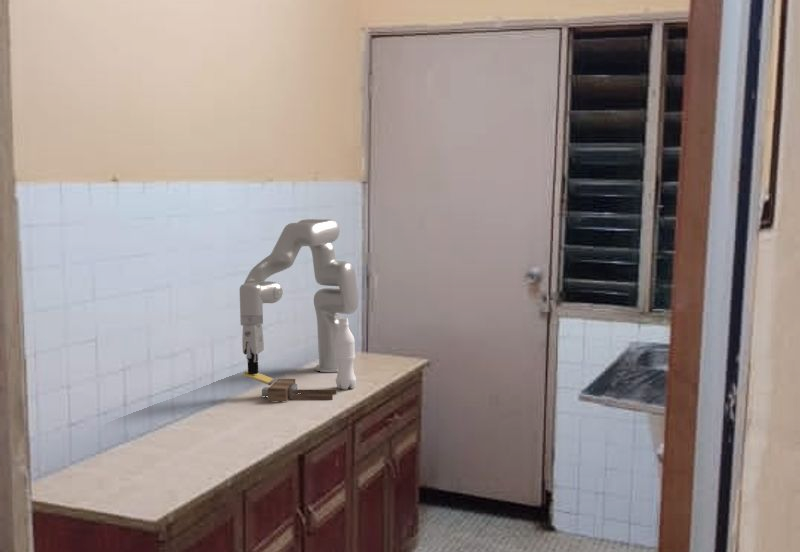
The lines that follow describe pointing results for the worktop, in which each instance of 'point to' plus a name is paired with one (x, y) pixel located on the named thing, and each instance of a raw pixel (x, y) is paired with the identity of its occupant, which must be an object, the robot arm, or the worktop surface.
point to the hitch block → (281, 391)
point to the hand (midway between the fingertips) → (253, 373)
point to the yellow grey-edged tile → (260, 377)
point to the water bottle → (345, 355)
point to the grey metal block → (291, 390)
